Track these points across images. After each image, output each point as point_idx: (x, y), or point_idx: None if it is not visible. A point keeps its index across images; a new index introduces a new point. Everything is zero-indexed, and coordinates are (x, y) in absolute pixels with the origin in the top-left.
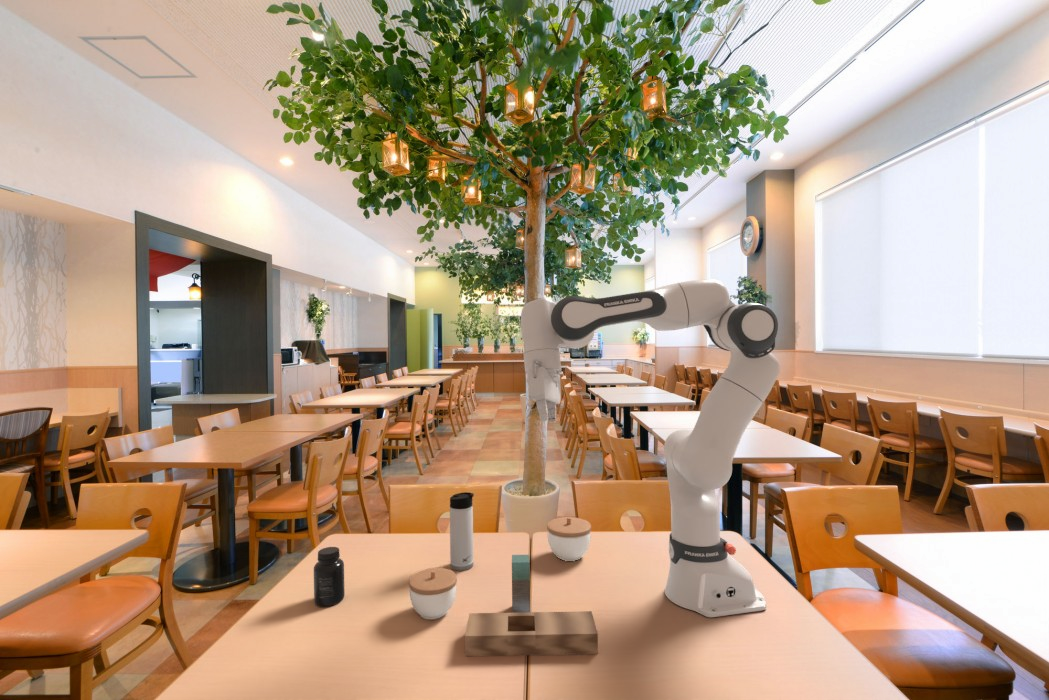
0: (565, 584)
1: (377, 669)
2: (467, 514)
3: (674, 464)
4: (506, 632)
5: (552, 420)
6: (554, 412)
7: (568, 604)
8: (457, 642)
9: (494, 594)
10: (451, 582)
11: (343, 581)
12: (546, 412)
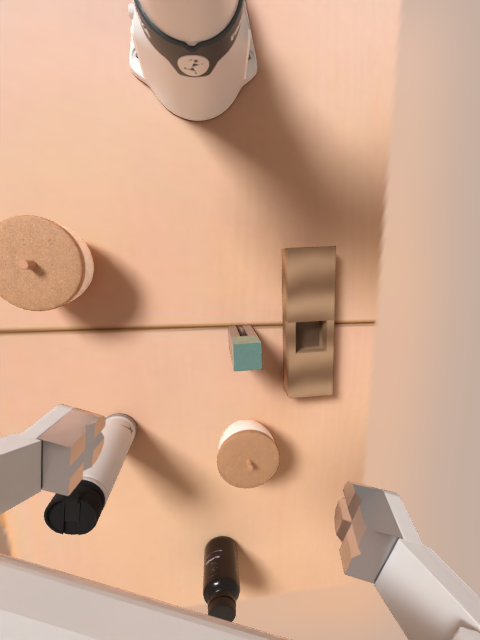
0: (168, 275)
1: (338, 457)
2: (102, 475)
3: None
4: (328, 352)
5: (99, 434)
6: (11, 457)
7: (223, 274)
8: (301, 397)
9: (200, 372)
10: (260, 436)
11: (219, 556)
12: (425, 546)
